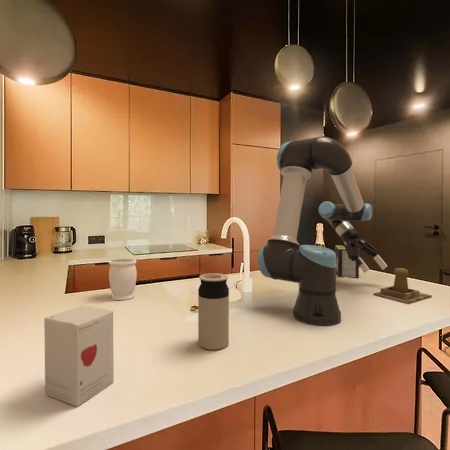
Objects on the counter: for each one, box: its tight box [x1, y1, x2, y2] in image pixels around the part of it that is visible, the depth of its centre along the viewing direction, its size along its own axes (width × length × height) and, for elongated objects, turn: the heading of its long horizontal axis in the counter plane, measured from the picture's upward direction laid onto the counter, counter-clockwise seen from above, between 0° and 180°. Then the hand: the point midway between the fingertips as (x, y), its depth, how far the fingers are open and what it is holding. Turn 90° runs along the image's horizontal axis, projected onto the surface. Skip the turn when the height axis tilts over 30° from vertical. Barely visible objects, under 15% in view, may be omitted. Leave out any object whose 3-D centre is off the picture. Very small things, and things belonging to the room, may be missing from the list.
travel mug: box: [197, 272, 230, 351], centre depth 78 cm, size 8×8×18 cm
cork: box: [392, 267, 410, 293], centre depth 123 cm, size 6×6×11 cm
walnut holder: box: [373, 285, 433, 305], centre depth 124 cm, size 18×14×3 cm
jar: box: [108, 258, 138, 301], centre depth 120 cm, size 11×10×15 cm
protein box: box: [334, 245, 360, 279], centre depth 165 cm, size 10×15×16 cm
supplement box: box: [43, 304, 115, 408], centre depth 58 cm, size 9×9×15 cm
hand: (376, 269), depth 131 cm, fingers open, 13 cm apart
